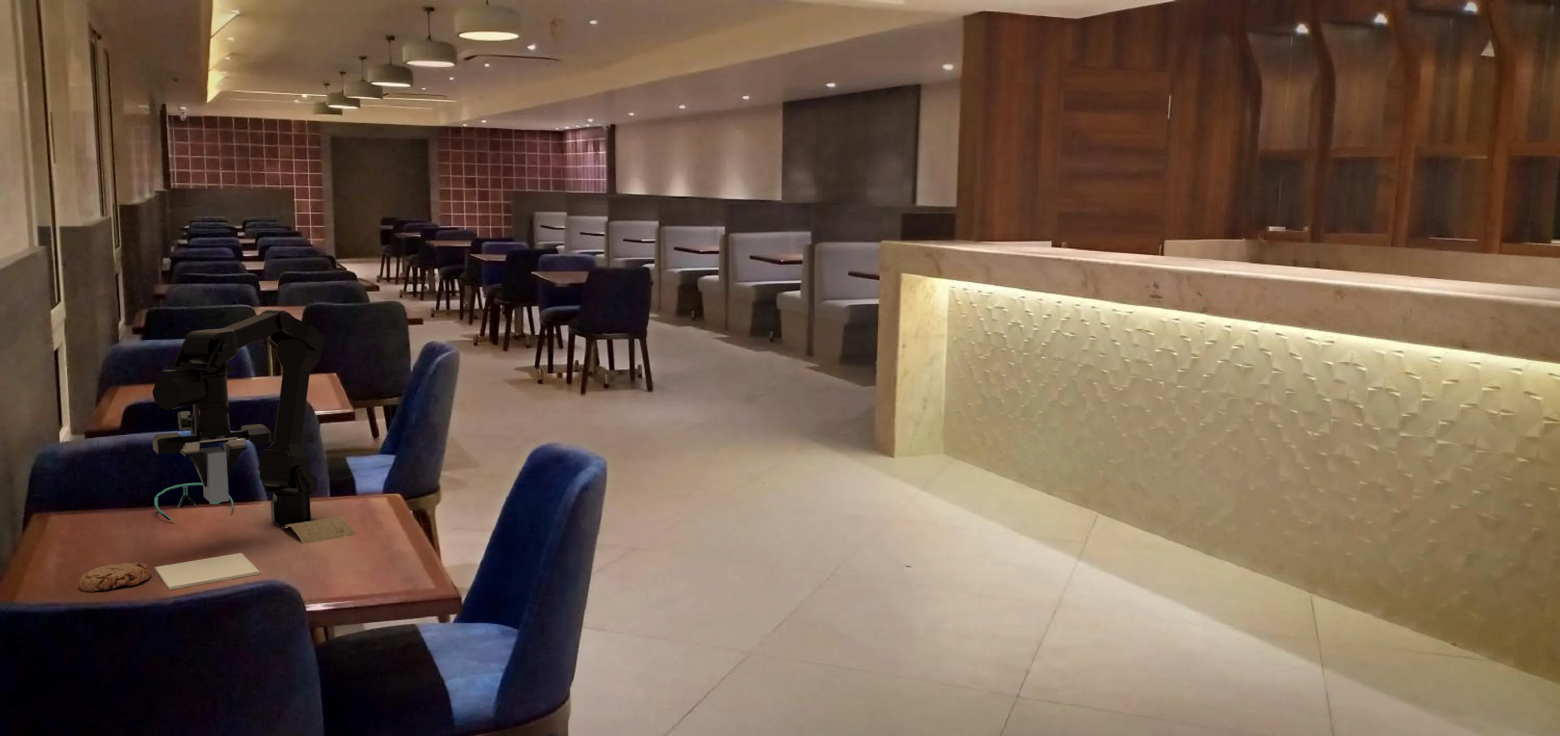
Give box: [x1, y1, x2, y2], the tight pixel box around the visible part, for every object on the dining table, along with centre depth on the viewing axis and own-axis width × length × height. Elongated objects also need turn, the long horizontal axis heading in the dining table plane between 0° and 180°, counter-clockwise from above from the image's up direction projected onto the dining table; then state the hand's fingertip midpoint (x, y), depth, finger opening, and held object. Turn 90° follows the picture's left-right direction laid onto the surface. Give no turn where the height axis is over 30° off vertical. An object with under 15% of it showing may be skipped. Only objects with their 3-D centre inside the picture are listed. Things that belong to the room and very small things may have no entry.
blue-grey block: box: [200, 446, 230, 504], centre depth 209 cm, size 3×6×9 cm, turn 37°
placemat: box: [154, 552, 261, 591], centre depth 199 cm, size 14×13×1 cm
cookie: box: [78, 562, 152, 593], centre depth 193 cm, size 10×11×3 cm
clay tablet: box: [281, 515, 355, 544], centre depth 224 cm, size 14×10×3 cm
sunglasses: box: [154, 482, 234, 521], centre depth 237 cm, size 14×15×5 cm
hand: (215, 485), depth 209 cm, fingers closed on blue-grey block, 3 cm apart
